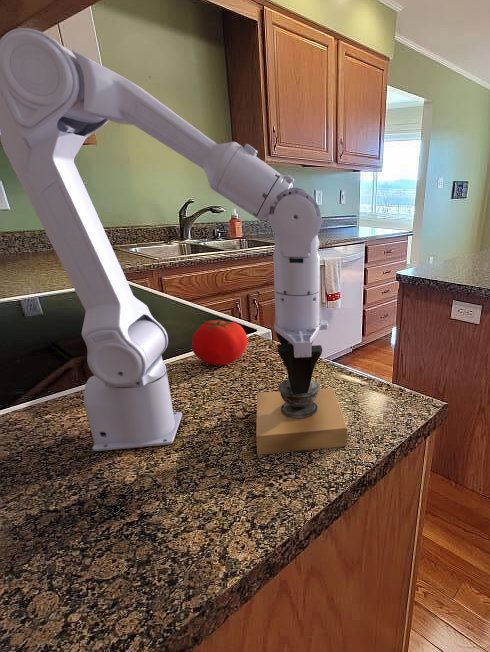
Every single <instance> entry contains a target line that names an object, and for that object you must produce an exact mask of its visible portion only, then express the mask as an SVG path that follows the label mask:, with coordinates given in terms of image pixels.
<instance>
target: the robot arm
mask: <svg viewBox="0 0 490 652" xmlns="http://www.w3.org/2000/svg"><path fill="white" fill-rule="evenodd" d="M1 37H2V38H1V39H0V143H1V146H2V148H3V151H4V153H5V155H6V157H7V160H8V161H9V163H10V165H11V167H12V169H13V171H14V173H15V175H16V177H17V180H18V181H19V183H20V185H21V187H22V188H23V190H24V193H25V195H26V196H27V198H28V200H29V202H30V205H31V206H32V208H33V211H34V212H35V214H36V215H37V216H36V217H37V218H38V220H39V222H40V224H41V226H42V228H43V230H44V232H45V234H46V236H47V238H48V240H49V242H50V244H51V245H52V248H53V249H54V251H55V254H56V256H57V257H58V260H59V261H60V264H61V265H62V268H63V269H64V272H65V273H66V276H67V277H68V279H69V281H70V282H71V285H72V287H73V289H74V291H75V293H76V295H77V297H78V299H79V300H80V303H81V305H82V307H83V308H84V311H85V314H84V319H83V324H82V329H81V337H82V339H83V341H84V343H85V345H86V349H87V353H86V354H87V357H86V360H87V361H86V362H87V365H88V368H89V370H90V371H91V373H92V374H93V375H91V376H90V377H89V378H88V379H87V381H86V383H85V385H84V390H83V404H84V411H85V413H86V418H87V421H88V426H89V429H90V433H91V436H92V440H93V446H92V451H94V452H101V451H102V452H103V451H112V450H113V451H115V450H124V449H135V448H136V449H137V448H145V447H147V448H148V447H159V446H167V445H168V446H169V445H172V444H174V440H175V439H176V434H177V432H178V429H179V427H180V423H181V420H182V418H183V412H182V411H174V409H173V402H172V396H171V390H170V384H169V377H168V371H167V366H166V364H165V362H164V360H163V356H162V355H163V354H164V353H165V352H166V350H167V347H168V345H169V337H168V333H167V331H166V329H165V328H164V327H163V325H162V324H161V323H160V322H159V321H157V320H156V319H155V317H153V315H152V313H151V311H150V309H149V307H148V305H147V304H145V303H144V302H143V301H141V300H140V299H138V298H137V297H135V296H134V294H133V291H132V288H131V287H130V285H129V283H128V280H127V278H126V275H125V273H124V271H123V269H122V267H121V264H120V262H119V260H118V258H117V255H116V253H115V251H114V249H113V247H112V244H111V242H110V240H109V237H108V236H107V233H106V231H105V229H104V226H103V224H102V222H101V220H100V218H99V215H98V213H97V211H96V208H95V206H94V204H93V202H92V199H91V197H90V195H89V193H88V191H87V188H86V186H85V183H84V181H83V179H82V177H81V175H80V173H79V170H78V168H77V165H76V164H75V158H76V156H77V154H78V153H79V151H80V150H81V148H82V147H83V146H82V145H84V142H85V141H86V140H87V138H89V137H91V136H92V135H93V134H94V133H96V132H97V131H98V130H100V129H102V128H103V127H104V126H105V125H107V124H108V123H109V122H113V123H116V124H119V125H129V126H134V127H136V128H138V129H139V130H141V131H143V132H144V133H145V134H147V135H149V136H151V137H152V138H154V139H155V140H157V141H158V142H160V143H161V144H163V145H165V146H166V147H167V148H169V149H170V150H172V151H174V152H176V153H177V154H179V155H180V156H182V157H183V158H185V159H187V160H188V161H190V162H191V163H193V164H194V165H196V166H198V167H200V168H201V169H202V170H203V171H204V174H205V176H206V178H207V182H208V185H209V187H210V189H212V190H213V191H215V192H216V193H217V194H219V195H220V196H222V197H224V198H225V199H227V200H228V201H230V202H231V203H233V204H234V205H236V206H237V207H239V208H240V209H242V210H243V211H244V212H246V213H248V214H249V215H251V216H252V217H253V218H256V219H257V220H259V221H267V222H269V226H270V228H271V230H272V231H273V233H274V234H273V235H274V252H273V254H272V260H273V263H272V264H273V288H274V291H273V292H274V312H275V313H274V314H275V321H274V323H273V328H274V331H275V335H276V336H275V337H276V338H277V339H278V341H279V343H278V344H277V347H276V348H277V353H278V355H279V358H280V359H281V360H282V362H283V364H284V366H285V369H286V372H287V378H288V377H289V382H290V387H291V390H292V393H293V394H301V393H308V391H309V387H310V383H311V379H312V378H313V373H314V370H315V367H316V364H317V363H318V361H319V360H320V357H321V356H322V355H323V347H322V345H321V344H318V345H315V344H314V345H313V342H314V340H315V339H316V337H317V336H318V335H319V333H320V331H322V330H325V331H326V330H329V323H328V321H327V320H324V319H322V320H320V290H321V289H320V287H321V285H320V283H321V277H320V275H321V256H320V253H319V252H318V250H319V248H320V239H319V237H318V234H319V232H320V230H321V228H322V226H323V225H322V224H323V217H322V213H321V210H320V206H319V204H318V203H317V201H316V199H315V198H314V197H313V196H312V195H311V194H310V193H308V192H307V190H306V189H304V188H301V187H292V186H293V184H294V183H295V178H294V177H292V175H289V174H286V175H285V176H284V175H283V174H281V173H280V172H278V171H277V170H276V169H275V168H273V167H272V166H271V165H269V164H267V163H266V162H265V161H264V160H261V159H260V158H259V157H258V156H257V155H258V153H259V152H258V150H256V149H255V147H253V146H251V144H249V143H246V144H245V145H244V146H242V145H241V144H239V143H238V142H236V141H229V142H224V143H216V142H215V141H214V140H212V139H211V138H210V137H208V136H207V135H206V134H204V133H203V132H202V131H201V130H199V129H197V128H196V127H195V126H194V125H192V124H191V123H189V122H188V121H187V120H186V119H184V118H183V117H181V116H180V115H178V114H177V113H176V112H174V111H173V110H172V109H171V108H169V107H168V106H167V105H165V104H163V103H162V102H161V101H160V100H158V99H157V98H156V97H154V96H153V95H152V94H151V93H149V92H148V91H146V90H145V89H144V88H142V87H140V85H138V84H136V83H134V82H133V81H132V80H129V79H128V78H126V77H124V76H123V75H121V74H119V73H117V72H115V71H113V70H111V69H109V68H108V67H106V66H104V65H101V64H100V63H99V62H96V61H94V60H93V59H91V58H89V57H87V56H85V55H83V54H81V53H79V52H78V51H76V50H73V49H71V50H70V49H68V48H67V47H65V46H64V45H62V44H60V42H58V40H56V39H54V38H53V37H52V36H50V35H49V34H46V33H45V32H43V31H40V30H38V29H34V28H31V27H30V28H29V27H18V28H15V29H11V30H10V31H8V32H6V33H5V34H4V35H3V36H1ZM288 341H289V342H290V343H291V344H288Z"/></svg>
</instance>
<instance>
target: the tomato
mask: <svg viewBox="0 0 490 652" xmlns="http://www.w3.org/2000/svg"><path fill="white" fill-rule="evenodd" d="M203 322H204V323H202V324H201V325H200V326H199V327H198V328H197V329H196V330H195V332H194V334H193V335H192V340H191V349H192V353H193V355H195V357H196V358H198V359H199V360H200V361H202V362H203V363H205V364H207V365H212V366H217V367H219V366H225V365H230V364H232V363H233V362H235V361H237V360H239V358H241V356H243V354H244V353H245V352H246V349H247V346H248V342H249V341H248V339H249V338H248V336H247V333H246V331H245V330H244V328H243V327H242V326H241V325H240V324H238V323H236V322H235V321H226V320H225V321H224V320H221V319H218V320H217V319H215V320H208V321H206V320H203Z"/></svg>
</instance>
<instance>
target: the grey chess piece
mask: <svg viewBox="0 0 490 652" xmlns="http://www.w3.org/2000/svg"><path fill="white" fill-rule="evenodd" d="M288 344H291V343H290V342H289V341H288ZM320 386H321V385H320V383H319V382H318V381H316V380H314V379H312V378H311V383H310V387H309V391H308V393H301V394H293V393H292V390H291V387H290V382H289V377H288V376H287V378H286V379H285V380H283V381H281V382H280V383H279V384H278V386H277V390H278V391H279V392H280V393H281V396H282V398H283V400H284V401H285V402H286V403H284V404H283V405H282V407H281V411H282V413H283V414H284V415H286V416H288V417H291V418H305V417H309V416H312V415H313V414H315V413H316V412H317V410H318V407H317V405H316V403H314V402H313V401H314V400H315V398H316V396H317V394H318V391H319V389H321V387H320Z"/></svg>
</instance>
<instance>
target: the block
mask: <svg viewBox="0 0 490 652" xmlns="http://www.w3.org/2000/svg"><path fill="white" fill-rule="evenodd" d="M313 402H314V403H316V405H317V407H318V410H317V412H316V413H315V414H313V415H312V416H309V417H305V418H291V417H288V416H286V415H284V414H283V413H282V411H281V407H282V405H283V404H284V403H286V402H285V401H284V400H283V398H282V396H281V393H280V392H279V390H278V391H267V392H266V391H263V392H256V420H255V421H256V424H255V425H256V426H255V427H256V429H255V439H256V455H257V456H261V455H262V456H263V455H271V454H281V453H291V452H301V451H303V452H304V451H312V450H321V449H331V448H341V447H347V446H348V426H347V423H346V421H345V417H344V414H343V412H342V409H341V406H340V403H339V400H338V398H337V394H336V392H335V389H334V387H328V388H327V387H326V388H320V389H319V391H318V394H317V396H316V398H315V400H314V401H313Z"/></svg>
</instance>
